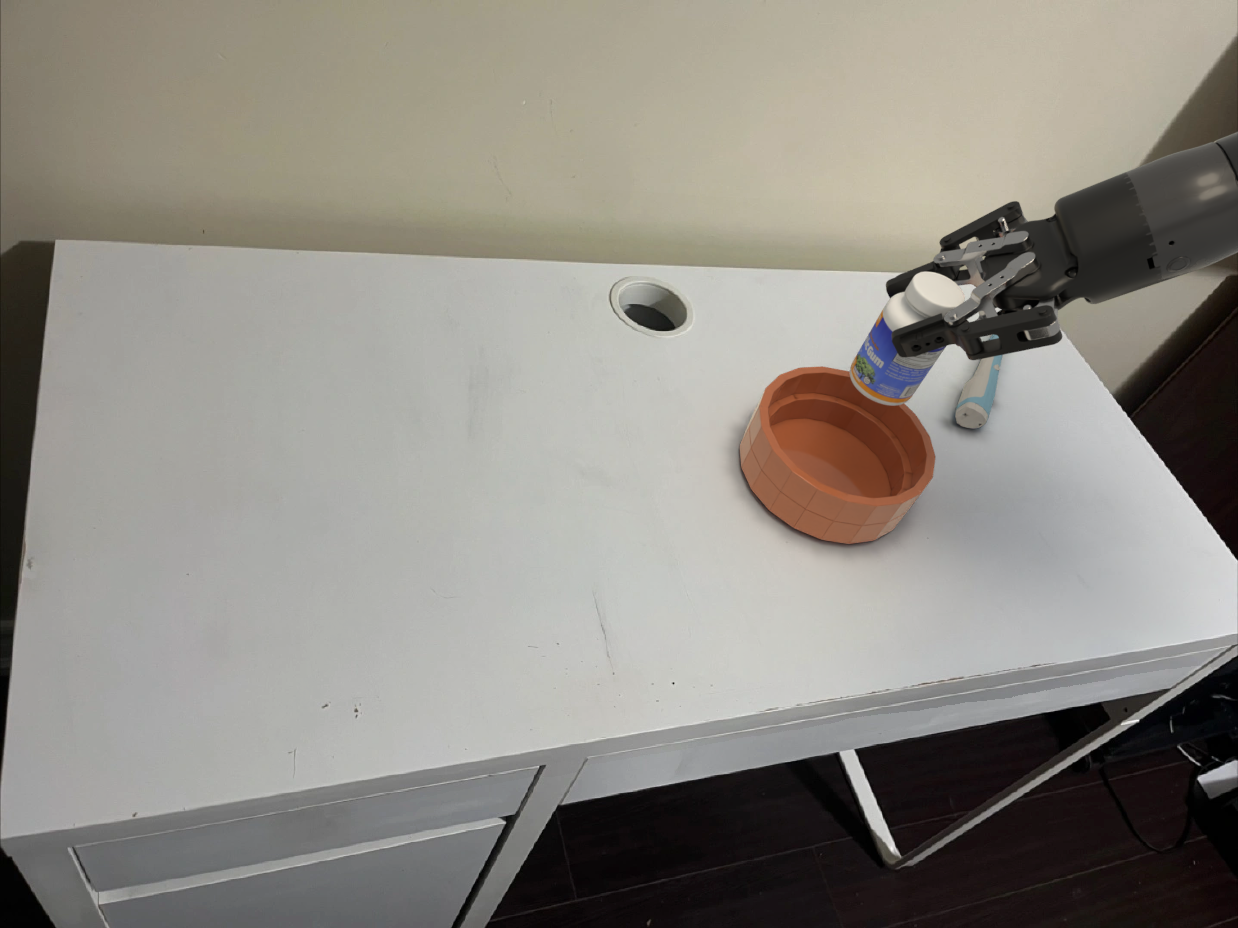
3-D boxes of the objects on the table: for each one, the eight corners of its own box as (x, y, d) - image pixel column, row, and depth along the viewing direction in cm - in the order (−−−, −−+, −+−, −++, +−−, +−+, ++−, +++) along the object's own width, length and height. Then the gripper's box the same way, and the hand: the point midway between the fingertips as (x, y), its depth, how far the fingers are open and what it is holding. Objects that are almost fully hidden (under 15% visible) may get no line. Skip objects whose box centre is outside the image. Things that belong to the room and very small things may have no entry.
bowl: (929, 479, 80) (961, 437, 76) (856, 580, 71) (888, 538, 66) (791, 387, 84) (814, 342, 80) (705, 470, 75) (725, 424, 71)
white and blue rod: (977, 437, 86) (993, 418, 83) (947, 422, 86) (962, 403, 84) (1009, 337, 98) (1024, 318, 96) (983, 324, 99) (997, 305, 96)
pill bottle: (842, 355, 70) (895, 257, 63) (904, 365, 71) (963, 270, 64) (853, 402, 67) (911, 305, 59) (918, 413, 67) (983, 318, 60)
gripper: (1108, 124, 58) (867, 227, 67) (1170, 244, 49) (879, 347, 57) (1131, 210, 63) (901, 297, 71) (1191, 336, 53) (918, 420, 61)
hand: (893, 319), depth 64 cm, fingers closed on pill bottle, 5 cm apart
